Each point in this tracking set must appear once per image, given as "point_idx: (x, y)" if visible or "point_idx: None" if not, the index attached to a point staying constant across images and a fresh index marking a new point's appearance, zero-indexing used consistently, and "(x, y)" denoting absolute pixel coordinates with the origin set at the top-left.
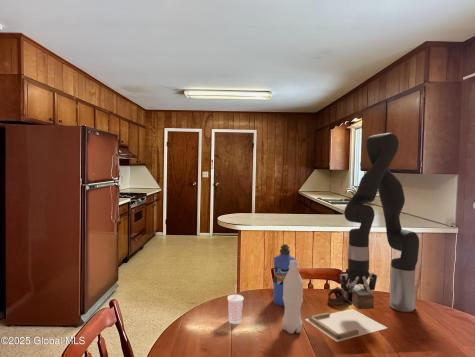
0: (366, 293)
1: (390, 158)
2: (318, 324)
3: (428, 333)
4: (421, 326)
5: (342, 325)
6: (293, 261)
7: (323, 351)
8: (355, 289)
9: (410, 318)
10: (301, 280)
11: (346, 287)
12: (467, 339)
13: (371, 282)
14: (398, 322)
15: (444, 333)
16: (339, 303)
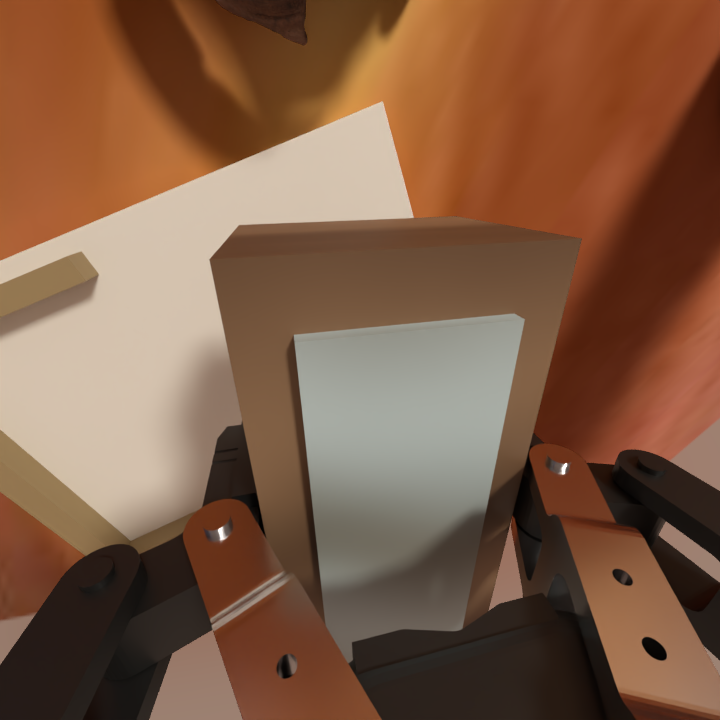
0: (438, 628)
1: None
2: None
3: (619, 398)
4: (651, 336)
5: (188, 413)
6: None
7: (35, 608)
8: (357, 548)
9: (686, 243)
10: None
11: (147, 704)
12: (704, 424)
13: (711, 606)
14: (583, 297)
15: (677, 391)
16: (252, 18)
